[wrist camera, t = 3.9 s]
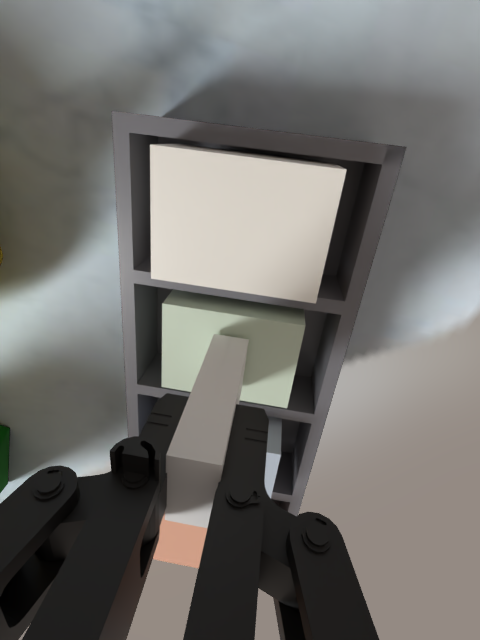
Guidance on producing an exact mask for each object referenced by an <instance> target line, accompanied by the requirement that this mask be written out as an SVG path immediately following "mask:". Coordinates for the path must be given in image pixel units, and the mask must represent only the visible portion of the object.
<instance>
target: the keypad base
mask: <svg viewBox="0 0 480 640" xmlns="http://www.w3.org/2000/svg"><path fill="white" fill-rule="evenodd" d="M112 129H113V148H114V168H115V187H116V207H117V227H118V246H119V266H120V286H121V305H122V325H123V345H124V364H125V384H126V404H127V423H128V438H130V437H134V436H139V435H140V433H141V431H142V429H143V427H144V425H145V423H146V421H147V419H148V417H149V415H150V414H151V411H152V409H153V407H154V405H155V403H156V402H157V401H158V400H159V399H160V398H161V397H163V396H164V395H165V394H166V393H169V394H175V395H181V396H187V397H189V396H190V393H191V392H188V391H183V390H177V389H171V388H165V387H162V303H163V302H164V301H165V299H166V298H167V297H168V295H169V294H170V293H171V292H172V290H173V289H175V290H181V291H188V292H194V293H201V294H207V295H214V296H221V297H227V298H234V299H240V300H247V301H253V302H260V303H266V304H273V305H280V306H286V307H293V308H299V309H304V313H305V325H306V326H305V330H304V335H303V339H302V344H301V348H300V353H299V357H298V362H297V366H296V371H295V375H294V380H293V384H292V389H291V393H290V398H289V402H288V407H287V408H283V407H277V406H271V405H265V404H259V403H253V402H247V401H241V400H240V401H239V405H244V406H250V407H256V408H262V409H264V410H265V412H266V414H267V416H270V417H276V418H281V419H282V434H281V457H280V461H279V465H278V470H277V474H276V478H275V483H274V487H273V491H272V496H271V500H272V501H273V502H274V503H275V504H276V505H277V506H279V507H280V508H282V509H283V510H285V511H287V512H289V513H291V514H293V515H295V516H298V513H299V509H300V506H301V502H302V499H303V496H304V492H305V489H306V485H307V482H308V479H309V475H310V472H311V469H312V465H313V462H314V458H315V455H316V452H317V448H318V445H319V441H320V438H321V435H322V431H323V428H324V425H325V421H326V418H327V414H328V411H329V407H330V404H331V401H332V397H333V394H334V390H335V387H336V384H337V380H338V377H339V374H340V370H341V367H342V364H343V360H344V357H345V353H346V350H347V347H348V343H349V340H350V337H351V333H352V330H353V326H354V323H355V320H356V316H357V313H358V309H359V306H360V303H361V299H362V296H363V293H364V289H365V286H366V282H367V279H368V276H369V272H370V269H371V265H372V262H373V259H374V255H375V252H376V249H377V245H378V242H379V238H380V235H381V232H382V228H383V225H384V221H385V218H386V215H387V211H388V208H389V205H390V201H391V198H392V194H393V191H394V188H395V184H396V181H397V177H398V174H399V171H400V167H401V164H402V161H403V157H404V154H405V150H406V147H402V146H394V145H386V144H378V143H369V142H361V141H353V140H345V139H337V138H329V137H321V136H312V135H304V134H296V133H288V132H280V131H272V130H264V129H255V128H247V127H239V126H231V125H223V124H215V123H207V122H198V121H190V120H182V119H174V118H166V117H158V116H150V115H141V114H133V113H125V112H117V111H112ZM150 144H185V145H193V146H201V147H209V148H217V149H224V150H232V151H240V152H248V153H256V154H264V155H272V156H280V157H287V158H295V159H303V160H311V161H319V162H327V163H335V164H337V165H339V166H341V167H343V168H345V169H347V171H346V175H345V180H344V184H343V188H342V193H341V197H340V201H339V206H338V210H337V214H336V219H335V223H334V227H333V232H332V236H331V240H330V244H329V249H328V253H327V257H326V262H325V266H324V270H323V275H322V279H321V283H320V288H319V292H318V296H317V301H316V304H315V303H309V302H302V301H295V300H289V299H282V298H276V297H269V296H262V295H256V294H249V293H243V292H236V291H229V290H223V289H216V288H210V287H203V286H196V285H190V284H183V283H177V282H170V281H163V280H157V279H151V213H150Z"/></svg>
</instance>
